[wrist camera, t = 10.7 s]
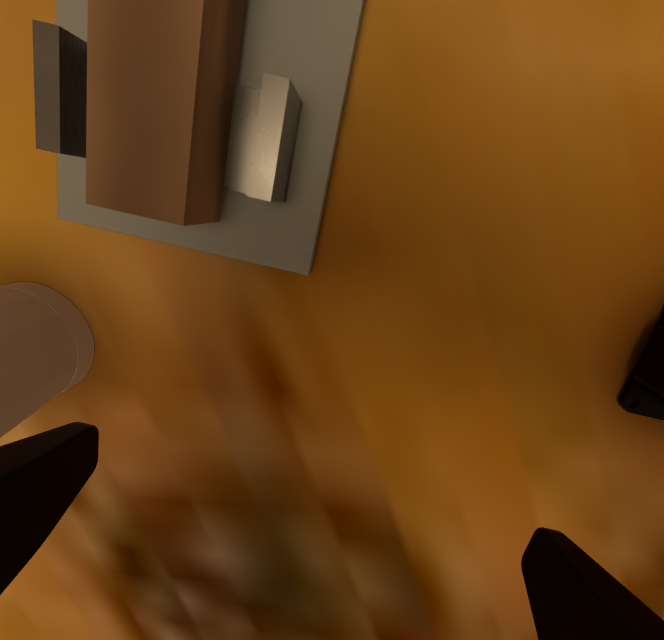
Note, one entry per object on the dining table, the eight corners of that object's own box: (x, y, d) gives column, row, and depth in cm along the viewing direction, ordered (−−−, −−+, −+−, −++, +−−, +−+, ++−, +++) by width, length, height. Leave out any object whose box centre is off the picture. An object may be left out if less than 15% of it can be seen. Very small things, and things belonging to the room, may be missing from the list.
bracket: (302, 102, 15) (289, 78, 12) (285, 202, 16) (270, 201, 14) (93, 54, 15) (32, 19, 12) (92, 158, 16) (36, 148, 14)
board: (411, -232, 13) (416, -267, 12) (310, 271, 18) (308, 275, 17) (73, -310, 13) (50, -351, 12) (73, 217, 18) (57, 218, 17)
